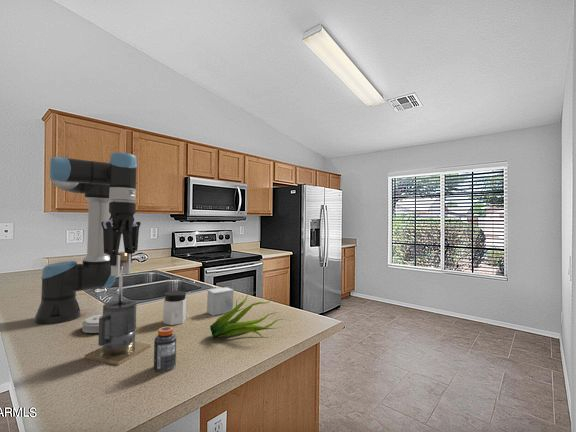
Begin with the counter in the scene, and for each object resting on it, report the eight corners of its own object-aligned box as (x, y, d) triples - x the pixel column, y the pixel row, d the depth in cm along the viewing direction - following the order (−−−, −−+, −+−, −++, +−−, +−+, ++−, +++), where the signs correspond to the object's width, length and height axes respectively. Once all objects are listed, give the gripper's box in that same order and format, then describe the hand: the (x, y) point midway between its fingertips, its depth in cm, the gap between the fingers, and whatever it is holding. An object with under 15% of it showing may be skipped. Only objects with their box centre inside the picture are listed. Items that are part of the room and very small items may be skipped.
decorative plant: (290, 343, 108) (291, 301, 108) (207, 341, 107) (208, 299, 107) (289, 325, 126) (290, 289, 126) (218, 323, 125) (218, 288, 125)
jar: (165, 326, 120) (166, 296, 120) (161, 320, 127) (161, 292, 127) (188, 322, 125) (189, 293, 125) (183, 317, 132) (183, 289, 132)
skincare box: (213, 316, 134) (213, 292, 134) (206, 312, 139) (206, 289, 139) (233, 311, 141) (234, 289, 141) (226, 308, 146) (227, 286, 146)
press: (83, 359, 92) (84, 307, 92) (119, 341, 105) (120, 296, 105) (116, 366, 88) (118, 312, 88) (150, 347, 101) (151, 300, 101)
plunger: (110, 310, 96) (112, 253, 96) (120, 307, 99) (121, 252, 99) (119, 312, 95) (121, 254, 95) (129, 308, 98) (130, 253, 98)
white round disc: (115, 321, 126) (115, 309, 126) (124, 329, 117) (125, 316, 117) (78, 328, 117) (79, 315, 117) (86, 338, 108) (86, 324, 108)
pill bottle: (157, 362, 91) (158, 324, 91) (178, 362, 91) (179, 324, 91) (150, 372, 85) (151, 332, 85) (172, 372, 85) (173, 332, 85)
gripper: (109, 200, 88) (107, 280, 88) (151, 203, 104) (149, 271, 104) (89, 200, 90) (87, 278, 90) (133, 203, 106) (131, 269, 106)
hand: (120, 274), depth 97 cm, fingers closed on plunger, 4 cm apart
